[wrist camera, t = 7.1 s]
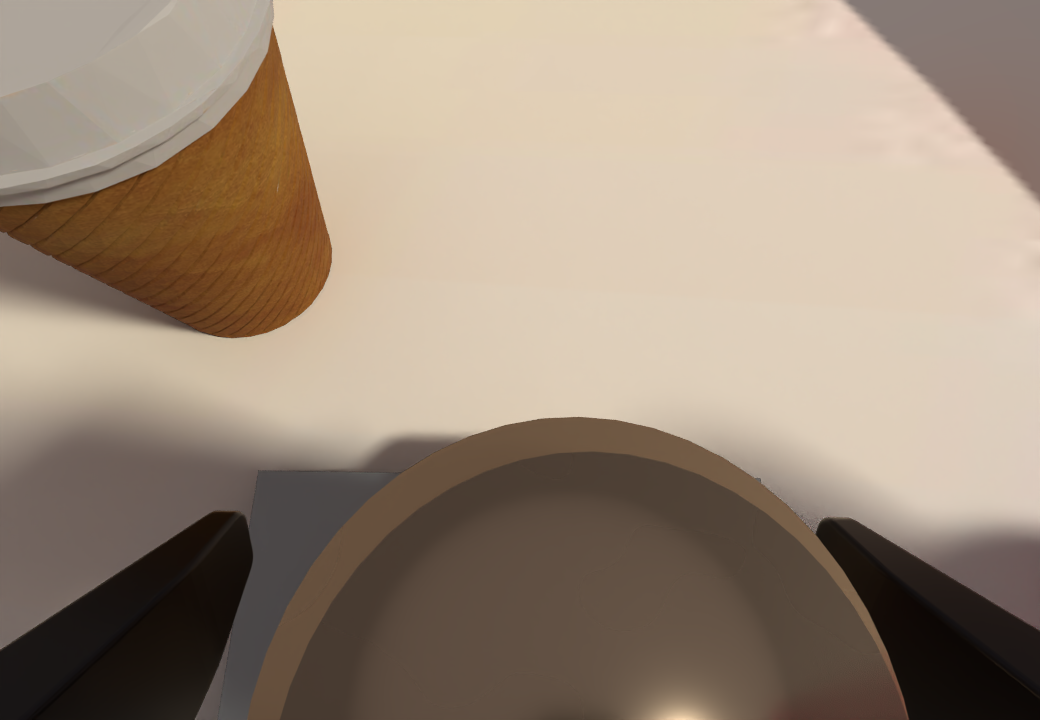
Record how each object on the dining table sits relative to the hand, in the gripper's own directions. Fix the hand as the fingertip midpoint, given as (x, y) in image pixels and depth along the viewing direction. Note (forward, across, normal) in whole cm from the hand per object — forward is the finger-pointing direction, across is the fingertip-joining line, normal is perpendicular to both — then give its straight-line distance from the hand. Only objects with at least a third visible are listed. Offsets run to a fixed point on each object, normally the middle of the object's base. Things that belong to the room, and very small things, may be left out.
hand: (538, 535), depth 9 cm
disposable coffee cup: (+14, +10, 0) cm, 18 cm away
